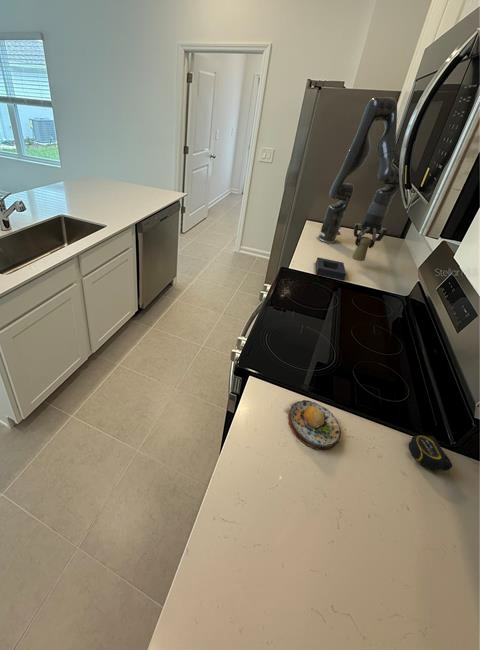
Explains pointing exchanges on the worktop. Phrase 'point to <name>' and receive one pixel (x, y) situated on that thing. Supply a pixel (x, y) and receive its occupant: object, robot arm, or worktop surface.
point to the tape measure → (429, 453)
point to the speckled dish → (314, 425)
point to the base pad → (330, 268)
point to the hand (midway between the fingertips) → (363, 246)
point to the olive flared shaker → (362, 249)
